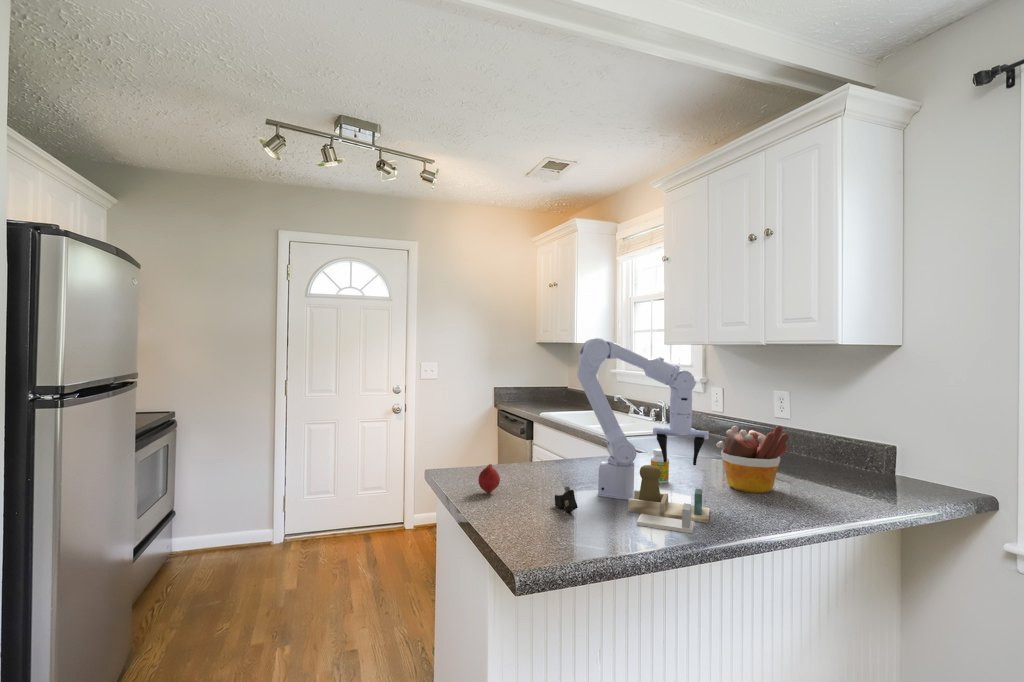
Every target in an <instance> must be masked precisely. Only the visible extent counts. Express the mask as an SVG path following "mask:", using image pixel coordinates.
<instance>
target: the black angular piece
mask: <svg viewBox="0 0 1024 682" xmlns="http://www.w3.org/2000/svg"><path fill="white" fill-rule="evenodd" d="M575 496H576V495H575V490H574V489H571V487H570V485H569V486H568V485H565V486H564V492H563V494H559V495H558V494H554V505H555V507H556V508H558V509H564V511H565V513H572V512H574V511H575V510H576V509H577V508H579V506H578V503H577V500H576V497H575Z"/></svg>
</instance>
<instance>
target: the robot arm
mask: <svg viewBox="0 0 1024 682" xmlns="http://www.w3.org/2000/svg"><path fill="white" fill-rule="evenodd" d="M578 356H579V358H578V366H577V371H576V375H577V378H578V381H579V383H580V385H581V387H582V390H583V391H584V393H585V396H586V397H587V400H588V403H589V404H590V407H591V408H592V411H593V412H594V415H595V417H596V418H597V422H598V423H599V425H600V428H601V430H602V432H603V434H604V437H605V439H606V442H607V443H606V444H607V445H606V448H607V449H606V450H607V452H608V454H609V455H610V456H609V457H608V459H607V461H601V462H600V463H599V467H598V485H597V486H598V489H597V491H598V493H597V496H598V497H603V498H610V499H619V500H624V501H628V499H629V498H630V499H634V490H635V460H636V457H637V450H636V449H637V448H636V447H635V446H634V445H633V443H631V442H630V441H629V439H628V438H627V436H626V435H625V433H624V431H623V430H622V428H621V426H620V424H619V422H618V419H617V417H616V415H615V413H614V411H613V409H612V407H611V405H610V402H609V401H608V399H607V396H606V393H605V392H604V390H603V388H602V386H601V383H600V381H599V379H598V378H597V374H598V371H599V369H600V368H601V367H600V366H601V364H603V362H605V361H606V359H608V360H609V359H610V360H611V359H613V360H614V359H618V360H620V361H623V362H625V363H627V364H629V365H632V366H634V367H637V368H640V369H642V370H643V372H644V375H645V376H646V377H648V378H649V379H652V380H654V381H656V382H659V383H660V384H663V385H665V386H669V388H670V397H669V427H661V426H660V427H659V426H658V427H657V426H653V427H652V435H653V436H656V441H657V443H658V445H659V449H661V451H662V454H663V460H664V462H667V457H668V451H667V450H668V446H667V445H668V436H669V437H679V438H680V437H681V438H693V458H692V459H693V460H692V466H697V460H698V456H699V453H700V452H701V448H702V446H703V444H704V442H705V440H709V438H710V437H709V436H710V434H709V430H707V431H706V430H698V429H692V426H693V425H692V419H693V417H692V416H693V415H692V414H693V390H694V389H695V387H696V384H697V381H696V378H695V377H694V375H693V373H691V372H690V371H688V370H684V369H683V370H682V369H681V368H680V365H676V364H675V365H673V364H671V363H668V362H667V361H664V360H665V358H663V357H659V356H658V357H656V356H654V357H651V358H648V357H644V356H643V355H641V354H638V353H637V352H635V351H632V350H630V349H628V348H626V347H624V346H622V345H621V344H618V343H615V342H612V341H610V340H609V341H606V340H605V339H603V338H598V337H595V338H592V339H591V338H590V339H588V340H586V341H585V342H584V343H583V344H582V347H581V349H580V350H579V355H578Z"/></svg>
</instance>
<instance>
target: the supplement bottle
mask: <svg viewBox="0 0 1024 682" xmlns="http://www.w3.org/2000/svg"><path fill="white" fill-rule="evenodd" d="M652 453H653V455H652V456H651V457H650V465H653V466H657V467H658V468H659V469H660V471H661V476H660V478H659V480H658V481H659V484H668V482H669V479H670V477H669V474H670V473H669V472H670V458H669V457H668V456H667V462H664V460H663V454H662V451H661V448H653V452H652Z"/></svg>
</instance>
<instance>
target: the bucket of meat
mask: <svg viewBox="0 0 1024 682" xmlns="http://www.w3.org/2000/svg"><path fill="white" fill-rule="evenodd" d="M739 428H740V427H739V426H738V425H733V426H731V429H728V430H726V433H725V434H726V435H727V436H726V437H725V438H724V440H723V441H722V440H720V441H718V442H717V443H716V445H715V446H716V447H717V448H718V449H721V451H720V454H721V458H722V462H723V466H724V471H725V476H726V481H727V484H728V485H729V487H731V488H732V489H734V490H737V491H740V492H745V493H750V494H766V493H769V492H771V491H773V488H774V484H775V480H776V476H777V474H778V468H779V466H780V465H779V464H780V462H781V456H782V455H783V454H785V453H786V452H787V450H788V446H787V441H788V439H789V435H788V433H783V427H782V426H780V425H777V426H775V427H774V429H773V431H771V432H768V433H767V434H766V435H765V434H764V433H761V432H758V431H756V430H754V429H751V430H749V431H747V430H746V429H740V431H739Z"/></svg>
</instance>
